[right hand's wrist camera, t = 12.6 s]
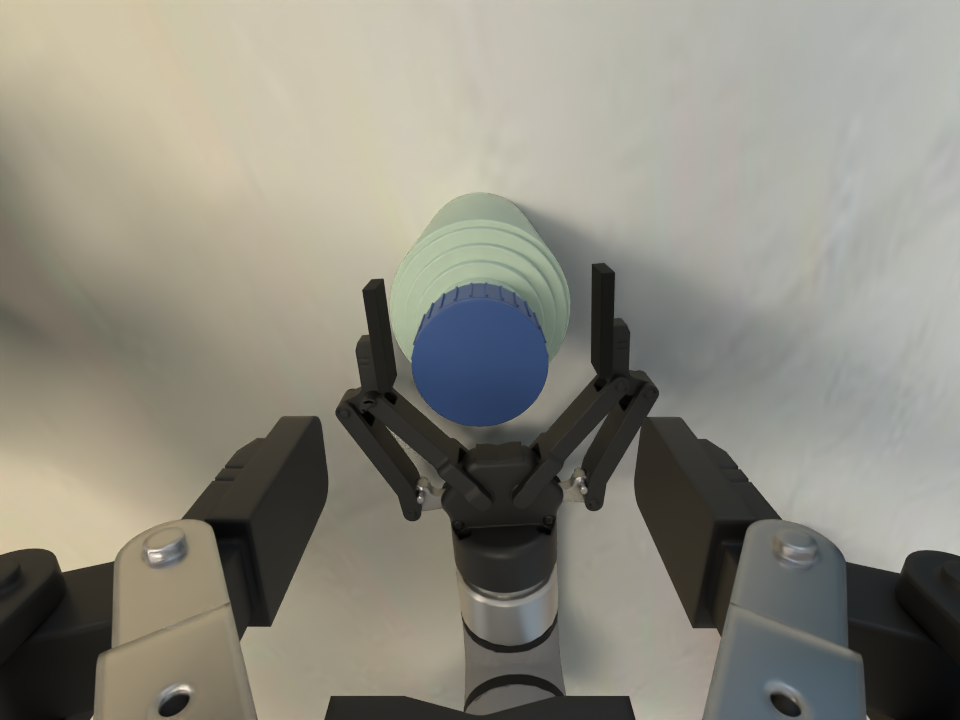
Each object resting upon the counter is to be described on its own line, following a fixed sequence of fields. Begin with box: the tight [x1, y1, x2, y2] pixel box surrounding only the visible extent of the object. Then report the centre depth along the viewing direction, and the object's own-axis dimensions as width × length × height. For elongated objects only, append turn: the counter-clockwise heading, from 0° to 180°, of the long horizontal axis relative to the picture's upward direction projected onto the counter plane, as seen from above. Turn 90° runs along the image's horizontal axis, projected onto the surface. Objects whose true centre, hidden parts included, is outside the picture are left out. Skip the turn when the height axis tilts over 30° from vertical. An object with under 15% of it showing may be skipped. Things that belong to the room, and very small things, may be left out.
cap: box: [411, 282, 549, 427], centre depth 18 cm, size 4×4×2 cm
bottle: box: [389, 193, 570, 364], centre depth 27 cm, size 8×8×21 cm
